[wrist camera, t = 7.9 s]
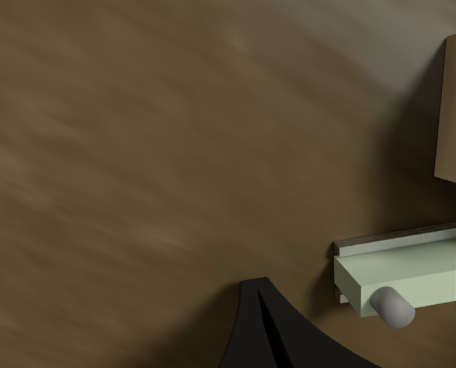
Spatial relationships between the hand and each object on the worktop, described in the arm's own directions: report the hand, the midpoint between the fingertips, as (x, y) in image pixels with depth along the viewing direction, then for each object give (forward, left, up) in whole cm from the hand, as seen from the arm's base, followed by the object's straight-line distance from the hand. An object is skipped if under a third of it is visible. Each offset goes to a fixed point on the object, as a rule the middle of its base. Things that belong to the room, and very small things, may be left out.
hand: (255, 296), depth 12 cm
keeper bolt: (-8, 0, -1) cm, 8 cm away
